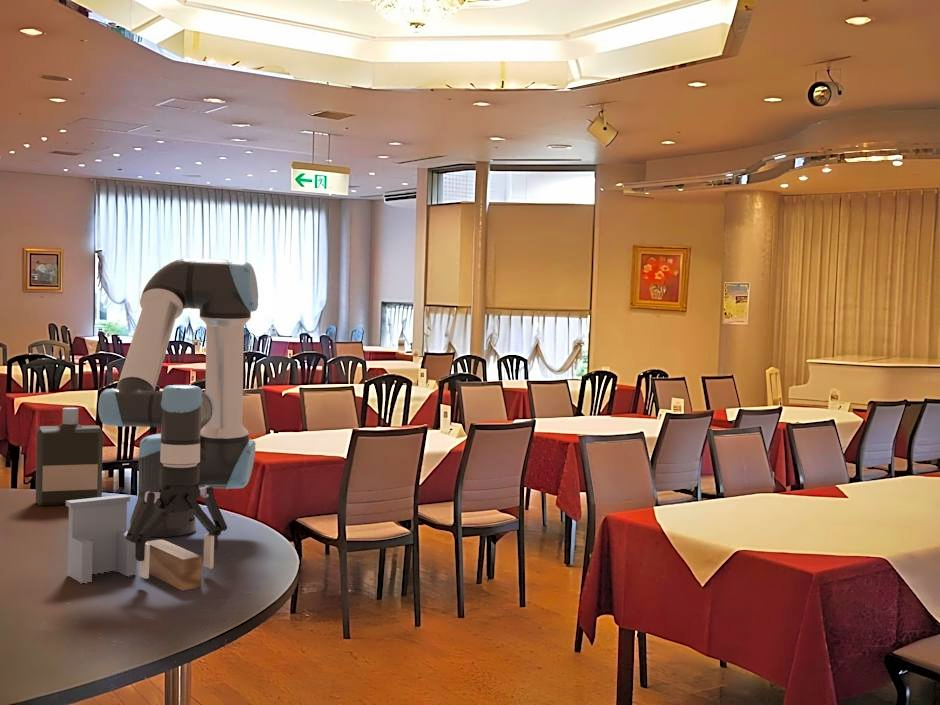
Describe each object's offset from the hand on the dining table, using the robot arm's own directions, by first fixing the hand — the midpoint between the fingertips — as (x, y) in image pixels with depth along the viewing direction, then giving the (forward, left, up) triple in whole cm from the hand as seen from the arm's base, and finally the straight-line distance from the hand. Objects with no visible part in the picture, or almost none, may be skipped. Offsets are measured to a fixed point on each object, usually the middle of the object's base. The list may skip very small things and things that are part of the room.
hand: (176, 572), depth 199 cm
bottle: (-11, -83, -2) cm, 84 cm away
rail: (0, -2, -2) cm, 3 cm away
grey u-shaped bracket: (+10, -12, -2) cm, 16 cm away
